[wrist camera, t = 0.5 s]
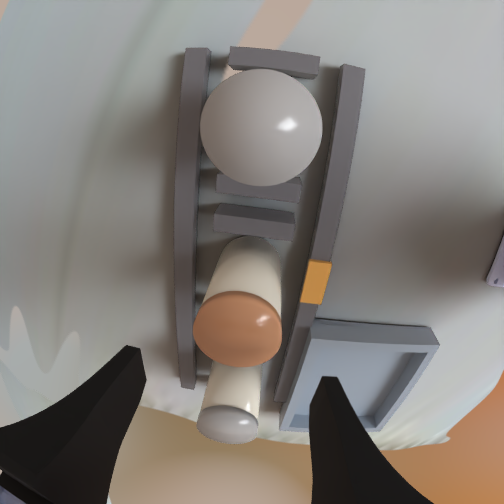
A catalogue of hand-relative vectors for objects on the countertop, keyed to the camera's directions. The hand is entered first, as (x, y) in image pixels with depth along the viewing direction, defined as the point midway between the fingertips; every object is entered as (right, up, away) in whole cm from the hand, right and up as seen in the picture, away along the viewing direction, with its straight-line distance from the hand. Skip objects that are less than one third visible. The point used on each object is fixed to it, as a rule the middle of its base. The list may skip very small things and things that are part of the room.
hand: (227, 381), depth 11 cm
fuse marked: (+1, +4, +9) cm, 10 cm away
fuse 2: (0, -4, +13) cm, 13 cm away
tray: (+10, -6, +13) cm, 17 cm away
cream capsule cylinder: (+2, +12, +5) cm, 13 cm away
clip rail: (+1, +4, +9) cm, 10 cm away
